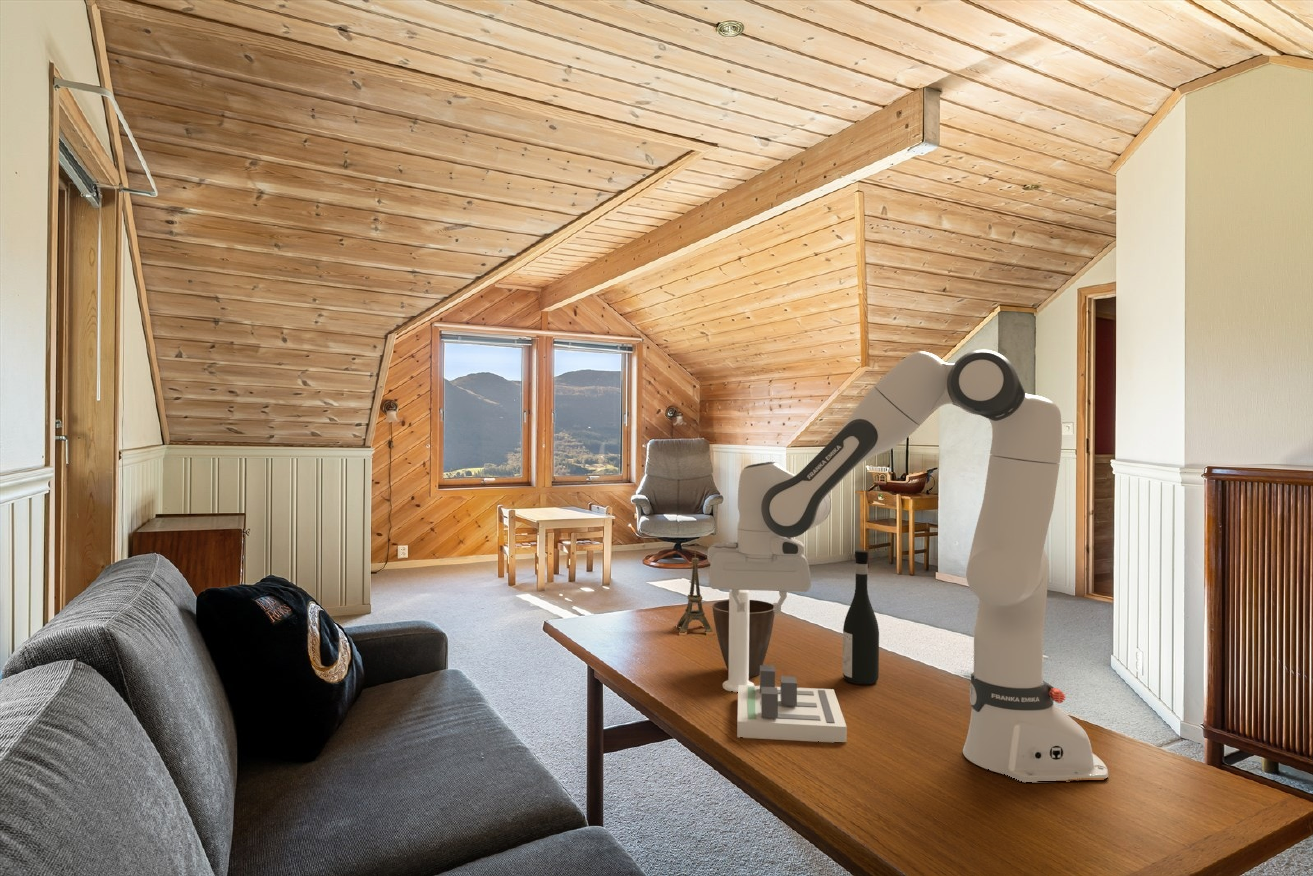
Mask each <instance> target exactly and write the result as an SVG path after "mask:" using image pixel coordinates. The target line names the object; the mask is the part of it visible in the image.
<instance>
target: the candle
mask: <svg viewBox="0 0 1313 876" xmlns="http://www.w3.org/2000/svg"><path fill="white" fill-rule="evenodd" d="M737 596H738V598H739V600H740V602H745V612H737V603H736V601H735V600H734V598H733V596H732V590H729V591H728V600H729V672H728V679H727V680H724V681H723V682H722V688H723V689H724V690H725V691H728V692H731V691H733V692H732V693H737V692H738V685H749V686H755V683H754V682H752V681H751V680H749V679H750V677H749V600H750V590H739V595H737Z"/></svg>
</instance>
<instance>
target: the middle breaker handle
mask: <svg viewBox="0 0 1313 876" xmlns="http://www.w3.org/2000/svg"><path fill="white" fill-rule="evenodd" d="M779 687H780V699H781V705H792V706H797V688H798V682H797V677H796V676H782V675H781V676H780V686H779Z"/></svg>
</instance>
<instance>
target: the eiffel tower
mask: <svg viewBox="0 0 1313 876" xmlns="http://www.w3.org/2000/svg"><path fill="white" fill-rule="evenodd" d="M696 544H697V543H695V544H694V548H695V549H694V557H692V558H691V563H692V569H691V570H692V571H691V572H692V573H691V581H690V588H689V594H687V606H686V608H685V609H684V611H685V612H684V613H683V614H682V616H681V617H680V619H679V620H678V622H677V624H676V625H677V627H681V628H679V630H678V632H680V633H685V632H688V629H689V625H690V624H691V622H692V621H699V622H700V623H701V624H703V626H704V628H703V629H704V633H705V632H714V631H713V627H712V625H711V624H710V623H709V621H708V619H707V617H706V616H705V614H706V612H705V611H704V609H703V603H702V601H703V596H702V595H701V589H700V588H701V587H700V579H699V567H698V564H699V563H700V561H699V558H698V557H697V551H696ZM695 591H696V592H695ZM694 592H695V593H696V594H695V593H694ZM693 604H697V609H693ZM710 625H711V626H710ZM711 627H712V628H711Z"/></svg>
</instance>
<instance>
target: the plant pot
mask: <svg viewBox="0 0 1313 876" xmlns="http://www.w3.org/2000/svg"><path fill="white" fill-rule="evenodd" d="M712 615H713V621H714V627H715V628H714V629H715V632H716V633H715V634H716V637H717V640H718V645H719V648H720V651H721V655H722V657H723V662H724V664H725V666H726V670H727V672H728V673H729V599H724V600H720V601H716V602H713V604H712ZM775 615H776V613H773V603H771V602H767V601H763V600H756V599H749V678H753V677H756V676H758V675H760V665H764V662H765V660H766V656H767V653H768V649H769V646H770V640H771V637H772V633H773V626H774V622H775V621H774V620H775Z"/></svg>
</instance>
